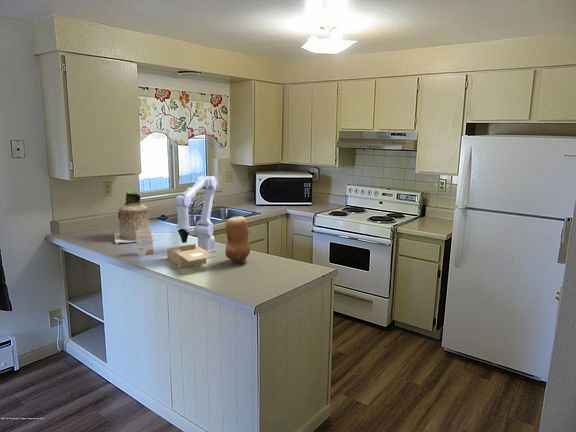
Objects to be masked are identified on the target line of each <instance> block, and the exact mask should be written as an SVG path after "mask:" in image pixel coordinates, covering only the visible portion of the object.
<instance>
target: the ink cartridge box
mask: <svg viewBox="0 0 576 432" xmlns="http://www.w3.org/2000/svg"><path fill="white" fill-rule="evenodd" d="M143 231H145V232H146V233H141V232H143ZM151 231H152V229H151V228H149V229H148V230H136V234H137V235H136V239H137V242H136V247H137V248H136V249H137V256H147V255H146V254H150V255H154V243H153V242H154V241H153V239H152V233H151Z"/></svg>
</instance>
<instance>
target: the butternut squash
mask: <svg viewBox="0 0 576 432" xmlns="http://www.w3.org/2000/svg"><path fill="white" fill-rule="evenodd" d="M225 234H226V237H227V242H226V245H225V256H226V258H227V259H228V260H229V261H232V262H233V263H235V264H237V263H238V262H241V263H243V262H245V261H246V259H247V258H248V257H249V255H250V253H251V246H250V242H249V225H248V221H247V218H246V217H244V216H243V215H241V216H239V215H238V216H232V217H230V218H227V220H226V221H225Z"/></svg>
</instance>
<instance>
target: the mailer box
mask: <svg viewBox="0 0 576 432" xmlns="http://www.w3.org/2000/svg"><path fill="white" fill-rule="evenodd" d="M186 245H187V244H184V245H177V246H172V247H167V248H166V255H167V257H166V258H168V259H167V260H169V261H170V260H171V261H170V262H172V263H173V262H174V263H173V264H175V265H176V264H177V265H178V267H179V266H180V267H184V268H187V267H186V266H189V267H193V266H192V265H195V266H199V264H200V265H204V264H203V263H205V264H207V259H202V260H197V261H192V262H188V261H187V260H185V259H183V258H182V257H180V256H179V255H177V254H176V253H174V252H173V251H177V250H181V246H186ZM189 245H192V244H191V243H190V244H189ZM177 265H176V266H177Z"/></svg>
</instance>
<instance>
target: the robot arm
mask: <svg viewBox="0 0 576 432" xmlns="http://www.w3.org/2000/svg"><path fill="white" fill-rule="evenodd" d="M217 185H218V180H217V178H216V177H215V175H212V176H210V175H199V176H198V177H197V178H196V181H195V183H194V184H193V185H192V186H191V187H187V188H186V190H185V191H184V192H182V193H181V194H180V195H177V196H176V197H175V198H174V205H175V209H176V211H177V223H176V226H175V228H176V229H177V233H178V234H179V237H180V240H181V242H182V243H183V244H185V243H186V244H187V242H188V239H189V238H188V236H189V234H190V233H191V232H192V228H191V227H190V220H189V219H190V217H189V207H190V205H191V203H192V200H193V199H194V198H195V197H196V196H197V192H199V190H202V191H203V192H204V198H203V202H202V203H203V204H202V207H201V209H202V210H201V214H200V219H199V220H197V221H196V224H195V226H194V229H193V230H194V235H195V236H196V237H197V247H200V248H202V249H204V250H206V251H208V252H210V253H213V252H216V250H217V249H216V239H215V236H214V235H213V234H214V224H213V222H212V221H211V214H212V210H213V209H212V208H213V203H214V198H215V192H216V189H217Z"/></svg>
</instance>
